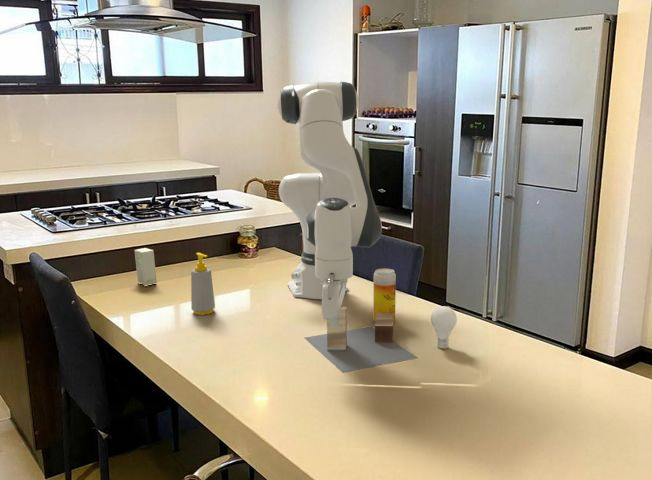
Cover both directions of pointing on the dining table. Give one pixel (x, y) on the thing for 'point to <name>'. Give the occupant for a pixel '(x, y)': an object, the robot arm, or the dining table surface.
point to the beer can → (384, 292)
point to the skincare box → (145, 266)
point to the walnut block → (384, 328)
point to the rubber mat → (361, 350)
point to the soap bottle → (202, 288)
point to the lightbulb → (443, 324)
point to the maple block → (338, 333)
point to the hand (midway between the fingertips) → (334, 324)
